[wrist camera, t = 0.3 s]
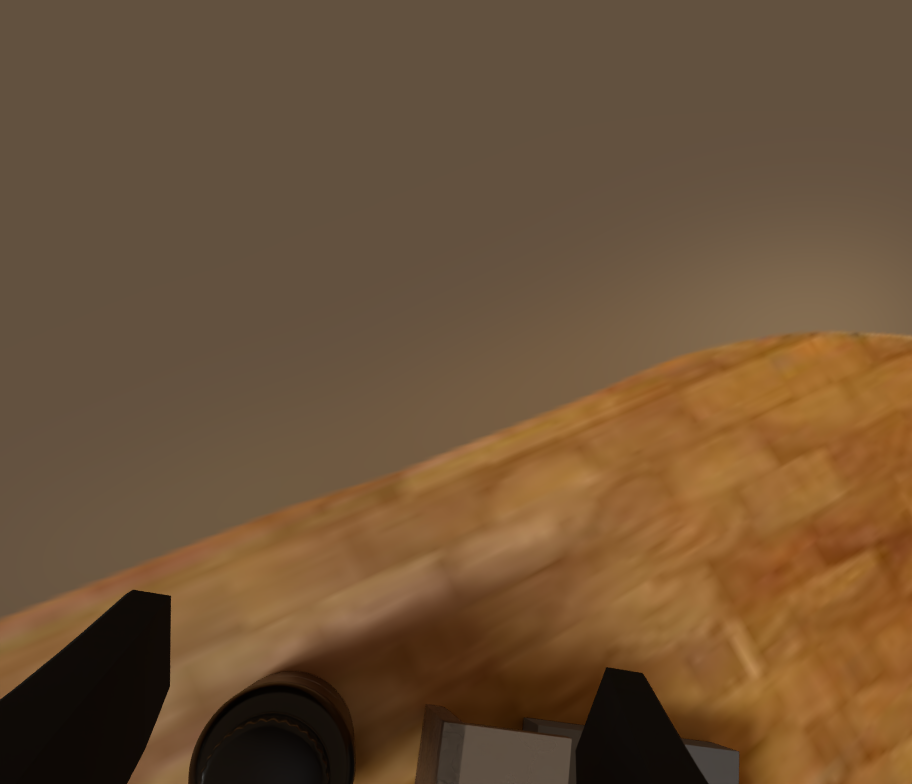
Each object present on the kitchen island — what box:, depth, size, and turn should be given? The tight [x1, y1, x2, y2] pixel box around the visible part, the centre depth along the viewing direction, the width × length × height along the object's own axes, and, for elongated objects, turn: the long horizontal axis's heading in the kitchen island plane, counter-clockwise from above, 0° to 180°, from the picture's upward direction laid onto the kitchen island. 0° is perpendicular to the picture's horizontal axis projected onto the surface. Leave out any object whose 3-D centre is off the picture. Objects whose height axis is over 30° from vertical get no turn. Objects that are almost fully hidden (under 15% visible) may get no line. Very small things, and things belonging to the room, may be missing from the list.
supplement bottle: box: [188, 671, 356, 784], centre depth 32 cm, size 7×7×12 cm
